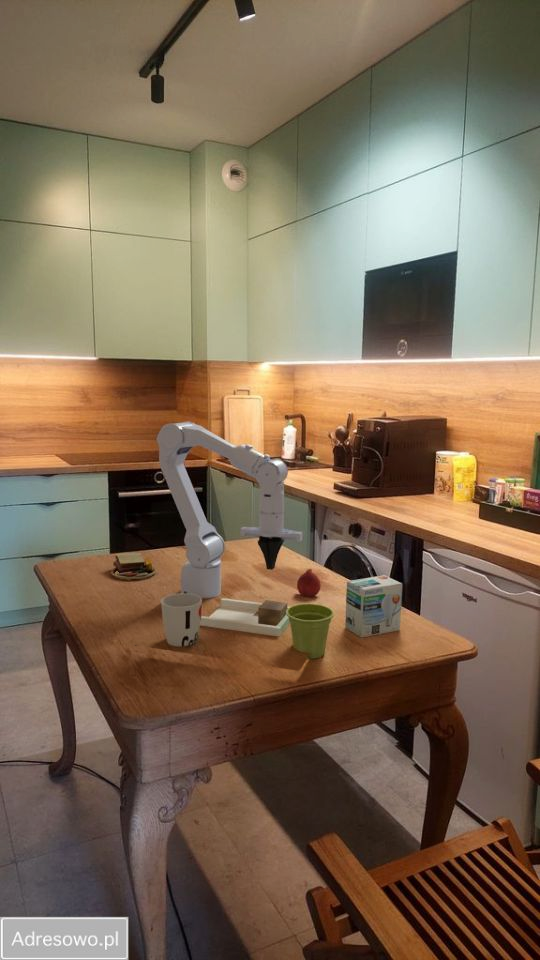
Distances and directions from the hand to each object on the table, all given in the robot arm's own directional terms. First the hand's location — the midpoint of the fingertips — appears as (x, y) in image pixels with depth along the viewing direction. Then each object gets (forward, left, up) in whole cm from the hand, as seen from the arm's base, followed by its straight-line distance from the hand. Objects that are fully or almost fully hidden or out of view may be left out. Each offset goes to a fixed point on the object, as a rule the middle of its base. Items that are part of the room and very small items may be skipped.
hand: (270, 568), depth 151 cm
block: (+4, -12, -8) cm, 15 cm away
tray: (-1, -12, -10) cm, 16 cm away
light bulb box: (+25, -4, -10) cm, 27 cm away
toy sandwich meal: (-45, +13, -10) cm, 48 cm away
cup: (-10, -27, -10) cm, 31 cm away
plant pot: (+15, -21, -10) cm, 28 cm away
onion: (+7, +9, -10) cm, 15 cm away
